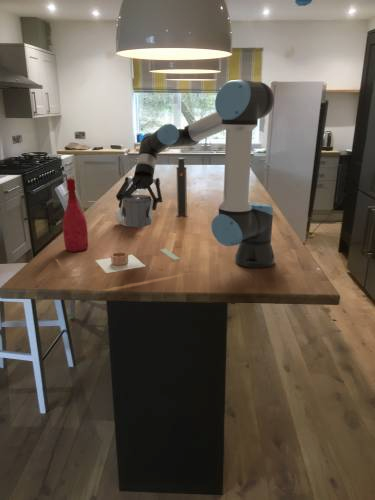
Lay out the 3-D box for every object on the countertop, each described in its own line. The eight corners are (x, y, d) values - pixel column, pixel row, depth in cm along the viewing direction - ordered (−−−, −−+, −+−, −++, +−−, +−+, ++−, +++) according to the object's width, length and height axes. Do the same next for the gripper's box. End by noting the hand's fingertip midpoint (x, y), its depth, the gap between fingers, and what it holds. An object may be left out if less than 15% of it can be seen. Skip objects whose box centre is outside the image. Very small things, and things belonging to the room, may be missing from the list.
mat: (180, 260, 160) (180, 258, 160) (147, 265, 154) (146, 264, 154) (165, 250, 172) (165, 248, 172) (134, 255, 166) (134, 253, 166)
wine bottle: (69, 245, 178) (62, 176, 169) (91, 245, 178) (85, 176, 168) (61, 252, 169) (54, 180, 159) (85, 252, 169) (79, 180, 159)
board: (145, 268, 151) (145, 266, 151) (106, 275, 145) (106, 273, 144) (132, 256, 164) (131, 254, 163) (95, 262, 157) (95, 260, 157)
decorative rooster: (116, 221, 219) (113, 174, 211) (145, 220, 221) (144, 174, 213) (114, 233, 195) (111, 182, 187) (147, 232, 197) (145, 181, 189)
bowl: (130, 264, 153) (129, 255, 152) (114, 267, 150) (114, 258, 149) (124, 259, 158) (124, 251, 157) (109, 262, 155) (109, 253, 154)
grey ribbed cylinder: (155, 224, 154) (155, 199, 150) (129, 228, 150) (128, 201, 146) (146, 218, 163) (145, 193, 159) (121, 221, 158) (119, 196, 155)
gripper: (175, 174, 163) (167, 222, 154) (120, 173, 167) (109, 219, 157) (172, 163, 156) (163, 212, 147) (114, 161, 160) (103, 209, 151)
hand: (135, 216), depth 152 cm, fingers closed on grey ribbed cylinder, 11 cm apart
